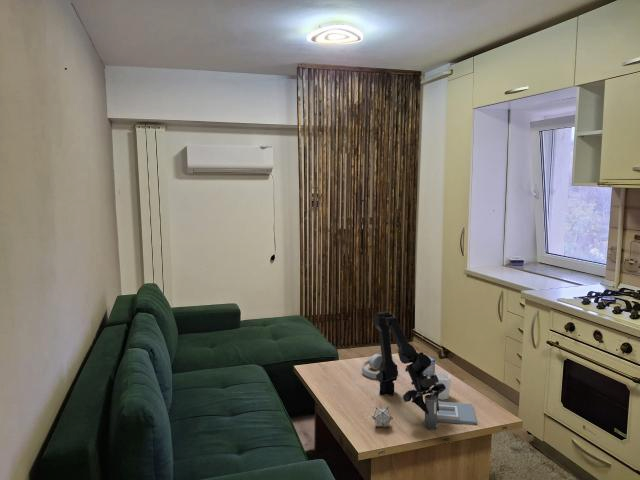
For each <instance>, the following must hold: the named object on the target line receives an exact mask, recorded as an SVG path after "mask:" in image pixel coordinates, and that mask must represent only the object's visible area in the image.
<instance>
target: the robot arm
mask: <svg viewBox="0 0 640 480" xmlns="http://www.w3.org/2000/svg"><path fill="white" fill-rule="evenodd" d="M372 319H373V322H374V326H375V328H376V329H377V330H378V334H379V335H378V336H379V344H380V353H381V354H380V355H382V362H381V365H380V368H379V372H377V373H378V374H377V375H376V379H375V380H376V381H377V382H378V383H379V393H378V394H379V395H380V396H381V395H382V396H393V395H394V394H395V382H394V381H397V379H398V376H399V371H398V365H397V364H396V362H395V363H394V362H393V360H392V358H393V355H392V354H393V353H392V347H391V345H392V344H391V336H390V333H391V335H392V337H393V339H394V342H395V343H396V346H397V348H398V351H397V354H398V356H399V360H400V362H401V363H402V364H405V366H406V368H405V369H404V370H405V372H406V373H408V375H409V377H410V380H411V382H410V383H411V386H414V389H410V390H407V391H406V392H405V393H404V394H403V396H402V399H403V402H404V403H408V402H410V401H411V403H414V404H415V405H416V406H418V407H419V408H420V409H421V411H422V412H424V414H425V413H426V414H428V410H427V407H426V405H425V400H424V395H425V396H426V395H435V396H437V398H438V395H439V394H440V393H442V392H443V391H444V390H445V389H446V387H445V385H444V384H442V383H441V384H436V383H437V382H438V381H439V380H438V377H437V376H436V375H431V376H430V377H428V376H426V375H425V374H423V372H424V371H425V370H426V369H427V368H428V367H429V366H430V365H431V360H430V358H431V357H430V356H428V355H427V356H426V354H424V352H417V350H416V349H415V347H414V346H413V345H412V344H411V343H409V341H408V340H407V337H406V335H405V333H404V331H403V329H402V327H401V325H400V323H399V318H398V317H397V316H395V314H392V313H390V312H389V311H380V312H376V313H375V314H374V315H373V317H372ZM429 357H430V358H429ZM406 364H407V365H406ZM438 402H439V399H438V400H437V411H439V404H438Z"/></svg>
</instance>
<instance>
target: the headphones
mask: <svg viewBox="0 0 640 480" xmlns="http://www.w3.org/2000/svg"><path fill="white" fill-rule="evenodd" d="M392 360H393V362H394V363H395V364H396V359H395V358H393V357H392ZM381 362H382V355H381V354H379V353H374V354H373V355H372V356H370V357H369V359H368V360H366V361H365V362H363V363H362V365H361V372H362V374H363V376H365V377H366V378H369V379H372V380H377V379H376V375H377V374H378V373H379V372H376V371H372V370H369V369H367V368H366V366H367V365H369V367H370V369H373V370H378V369H379V370H380V365H381Z"/></svg>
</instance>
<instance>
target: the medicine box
mask: <svg viewBox="0 0 640 480" xmlns="http://www.w3.org/2000/svg"><path fill="white" fill-rule="evenodd" d="M425 355H426V354H425ZM426 356H428V355H426ZM428 357H429V358H430V360H431V365H430V366H429V367H428V368H427V369H426V370H425V371H424V372H423V374H424V376H425V375H426V376H427V378H431V375H434V374H436V360H435V359H434V358H432V357H430V356H428Z"/></svg>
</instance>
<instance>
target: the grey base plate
mask: <svg viewBox="0 0 640 480" xmlns="http://www.w3.org/2000/svg"><path fill="white" fill-rule="evenodd" d="M438 404H439V411H437V422H439V423H440V422H441V423H452V424H455V423H456V424H466V425H477V424H478V422H477V418H476V414H475V409H474V406H473V404H472V403H462V402H449V401H438Z"/></svg>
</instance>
